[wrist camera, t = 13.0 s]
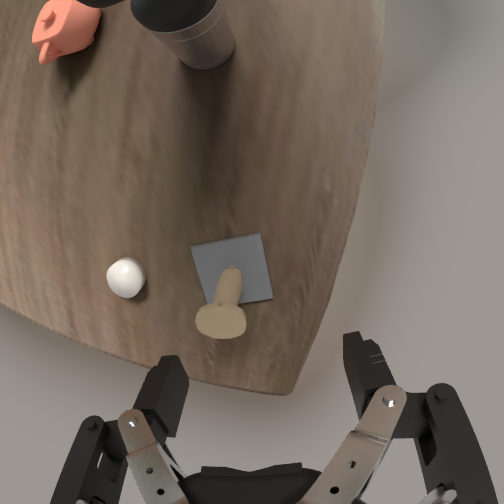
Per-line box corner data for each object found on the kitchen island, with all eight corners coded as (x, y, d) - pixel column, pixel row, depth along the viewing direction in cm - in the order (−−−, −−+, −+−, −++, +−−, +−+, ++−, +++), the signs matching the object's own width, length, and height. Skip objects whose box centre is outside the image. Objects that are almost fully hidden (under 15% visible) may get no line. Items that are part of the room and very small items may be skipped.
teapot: (94, 67, 37) (55, 54, 26) (50, 75, 37) (11, 69, 26) (119, -17, 30) (91, -41, 19) (74, -4, 30) (43, -21, 19)
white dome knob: (110, 259, 51) (101, 267, 47) (139, 253, 50) (131, 260, 47) (122, 291, 53) (114, 299, 50) (151, 286, 52) (144, 295, 49)
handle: (213, 260, 48) (193, 306, 34) (251, 260, 48) (245, 308, 34) (215, 285, 50) (197, 337, 36) (251, 286, 50) (246, 339, 36)
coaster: (191, 245, 49) (190, 247, 48) (260, 232, 47) (260, 234, 46) (209, 305, 53) (208, 308, 52) (273, 295, 51) (273, 298, 50)
